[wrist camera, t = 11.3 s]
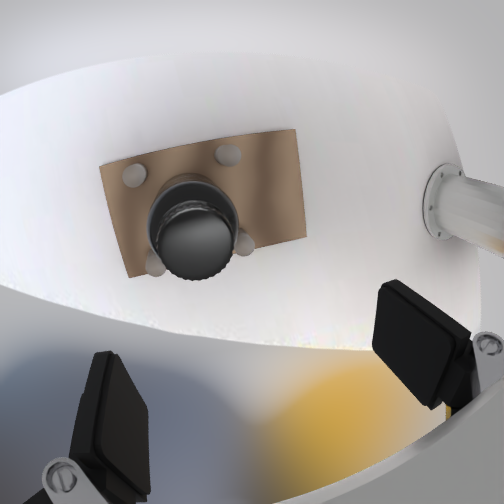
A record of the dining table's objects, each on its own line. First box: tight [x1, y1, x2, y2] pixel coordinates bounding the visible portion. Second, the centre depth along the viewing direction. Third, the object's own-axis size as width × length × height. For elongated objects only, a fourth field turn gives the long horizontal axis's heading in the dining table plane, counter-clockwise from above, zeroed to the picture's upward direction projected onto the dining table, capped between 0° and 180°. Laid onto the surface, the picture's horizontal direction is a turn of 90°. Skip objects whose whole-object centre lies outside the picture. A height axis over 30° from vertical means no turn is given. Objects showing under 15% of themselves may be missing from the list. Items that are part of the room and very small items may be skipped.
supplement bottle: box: [146, 173, 239, 281], centre depth 22 cm, size 7×7×12 cm
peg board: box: [99, 129, 307, 278], centre depth 27 cm, size 20×12×4 cm, turn 98°
